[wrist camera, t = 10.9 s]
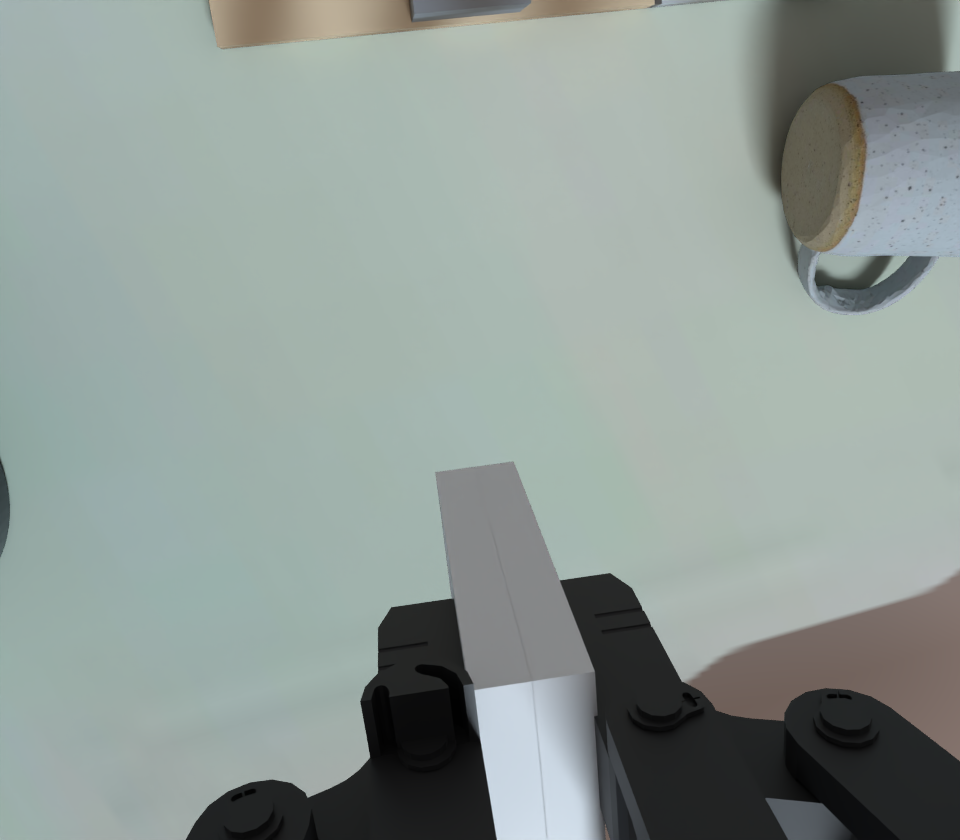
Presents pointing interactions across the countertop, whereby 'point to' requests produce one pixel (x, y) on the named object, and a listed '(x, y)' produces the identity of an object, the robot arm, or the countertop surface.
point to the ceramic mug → (875, 180)
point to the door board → (385, 16)
